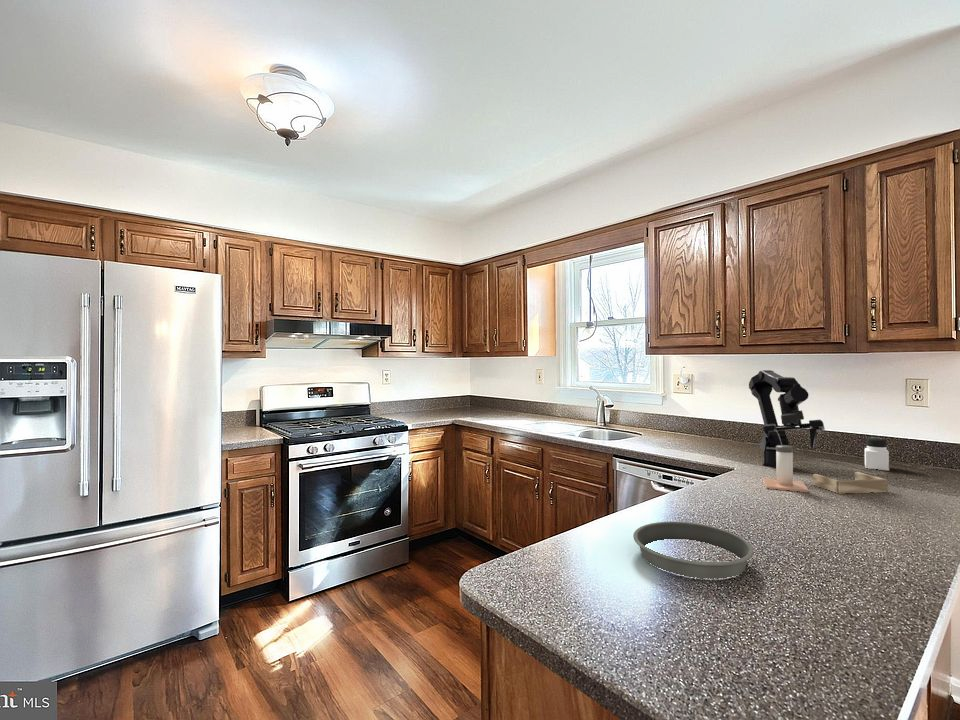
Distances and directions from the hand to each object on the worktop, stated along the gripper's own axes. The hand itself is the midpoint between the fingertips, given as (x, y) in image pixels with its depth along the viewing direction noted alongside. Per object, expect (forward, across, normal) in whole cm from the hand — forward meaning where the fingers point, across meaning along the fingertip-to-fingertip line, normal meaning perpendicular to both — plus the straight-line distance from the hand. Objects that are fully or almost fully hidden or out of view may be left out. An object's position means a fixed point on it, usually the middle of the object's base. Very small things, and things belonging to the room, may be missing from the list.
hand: (797, 450), depth 171 cm
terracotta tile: (+14, -5, -10) cm, 18 cm away
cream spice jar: (+13, -4, -10) cm, 17 cm away
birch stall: (+14, +13, -1) cm, 19 cm away
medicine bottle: (+2, +22, +39) cm, 45 cm away
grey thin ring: (+39, -16, -86) cm, 96 cm away
